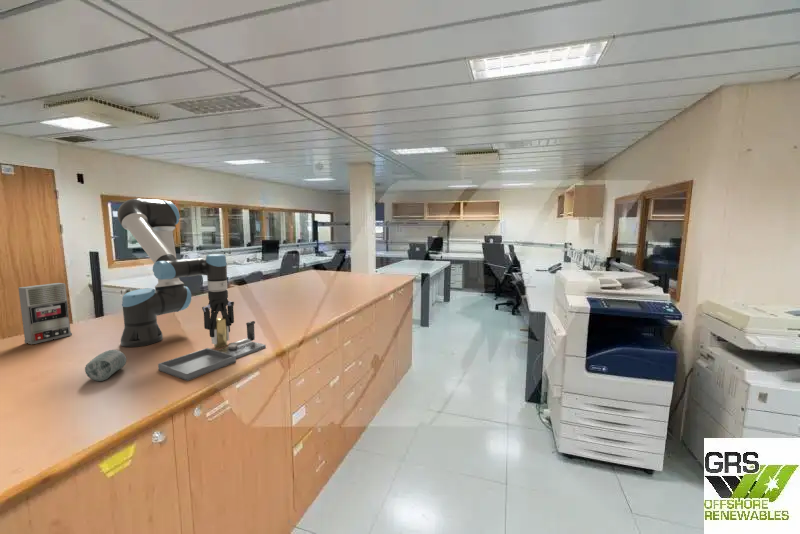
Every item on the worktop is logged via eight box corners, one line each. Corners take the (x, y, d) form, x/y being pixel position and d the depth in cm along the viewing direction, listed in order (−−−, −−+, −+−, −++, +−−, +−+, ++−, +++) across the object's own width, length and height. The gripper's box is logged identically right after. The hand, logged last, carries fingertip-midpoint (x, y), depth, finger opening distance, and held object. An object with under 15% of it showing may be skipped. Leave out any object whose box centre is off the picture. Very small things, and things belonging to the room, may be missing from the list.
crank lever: (232, 350, 139) (231, 328, 138) (227, 348, 141) (225, 327, 140) (257, 341, 151) (257, 321, 150) (253, 339, 152) (252, 320, 151)
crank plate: (213, 354, 138) (213, 351, 138) (247, 342, 152) (247, 339, 152) (232, 360, 133) (232, 356, 133) (265, 347, 147) (265, 344, 147)
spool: (112, 374, 111) (99, 347, 112) (83, 389, 110) (70, 362, 110) (139, 367, 125) (127, 343, 125) (113, 380, 123) (101, 356, 124)
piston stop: (211, 346, 147) (210, 319, 146) (222, 342, 152) (221, 317, 150) (219, 348, 145) (217, 321, 144) (229, 344, 150) (228, 318, 148)
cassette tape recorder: (32, 345, 146) (25, 288, 143) (24, 343, 148) (17, 287, 145) (72, 335, 159) (66, 283, 156) (64, 334, 161) (59, 282, 158)
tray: (158, 370, 122) (158, 363, 122) (207, 353, 139) (207, 347, 139) (187, 381, 114) (186, 374, 114) (235, 362, 131) (235, 355, 131)
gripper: (202, 294, 136) (206, 349, 139) (241, 287, 152) (244, 337, 154) (191, 292, 139) (195, 346, 142) (231, 286, 155) (233, 334, 158)
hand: (220, 341), depth 148 cm, fingers closed on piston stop, 5 cm apart
